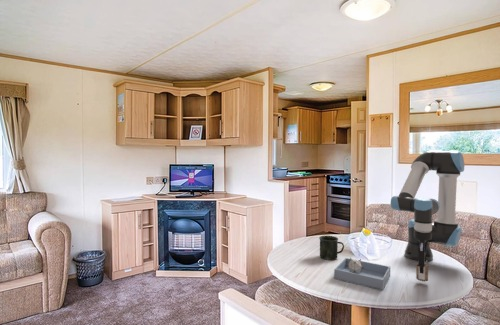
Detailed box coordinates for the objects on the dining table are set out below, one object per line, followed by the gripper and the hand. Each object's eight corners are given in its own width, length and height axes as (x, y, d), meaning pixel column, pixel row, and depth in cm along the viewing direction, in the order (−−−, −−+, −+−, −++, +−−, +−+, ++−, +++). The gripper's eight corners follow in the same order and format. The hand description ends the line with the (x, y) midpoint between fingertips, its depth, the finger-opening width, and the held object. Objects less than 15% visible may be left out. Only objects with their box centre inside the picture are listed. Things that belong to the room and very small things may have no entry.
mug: (318, 253, 194) (319, 235, 194) (343, 255, 191) (343, 236, 191) (319, 260, 184) (319, 240, 183) (344, 261, 181) (344, 241, 180)
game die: (356, 283, 160) (355, 272, 154) (343, 272, 166) (342, 261, 160) (367, 272, 163) (367, 261, 157) (354, 261, 169) (354, 251, 163)
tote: (345, 266, 173) (345, 257, 173) (390, 276, 161) (390, 266, 160) (334, 278, 158) (334, 269, 157) (382, 290, 145) (383, 280, 144)
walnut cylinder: (416, 275, 155) (417, 262, 155) (428, 278, 152) (428, 264, 152) (415, 279, 151) (415, 265, 150) (427, 282, 148) (427, 268, 148)
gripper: (416, 224, 159) (415, 268, 161) (411, 234, 145) (411, 282, 146) (432, 226, 155) (432, 271, 157) (430, 236, 140) (429, 286, 142)
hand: (422, 276), depth 152 cm, fingers closed on walnut cylinder, 5 cm apart
